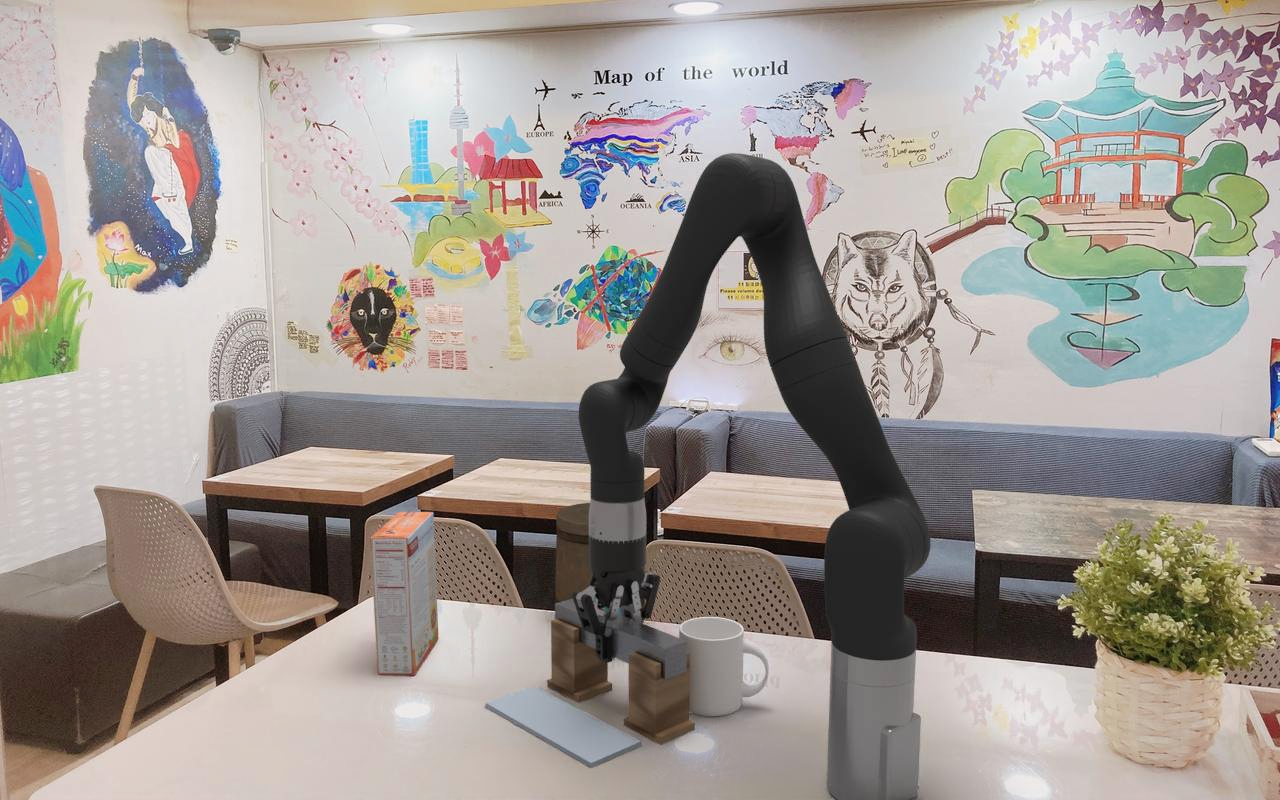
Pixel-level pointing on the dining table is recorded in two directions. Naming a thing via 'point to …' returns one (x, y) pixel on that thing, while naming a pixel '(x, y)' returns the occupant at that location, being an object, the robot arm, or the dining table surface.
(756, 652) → the mug
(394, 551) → the cracker box
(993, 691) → the dining table surface
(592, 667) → the post
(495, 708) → the mat
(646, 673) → the post
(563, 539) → the wooden container
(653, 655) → the rail
